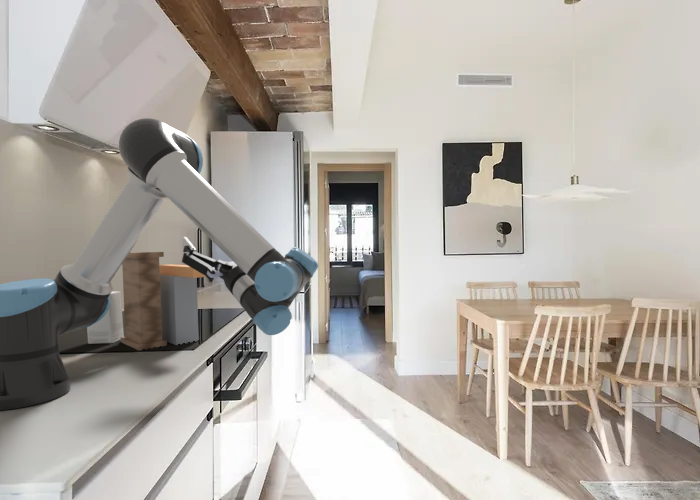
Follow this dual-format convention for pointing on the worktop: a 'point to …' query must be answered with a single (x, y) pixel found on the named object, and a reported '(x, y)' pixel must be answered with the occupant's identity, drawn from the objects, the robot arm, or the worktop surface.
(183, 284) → the slate block
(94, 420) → the worktop surface
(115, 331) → the skincare box
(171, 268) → the orange blank
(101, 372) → the worktop surface
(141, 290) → the walnut shelf stand
